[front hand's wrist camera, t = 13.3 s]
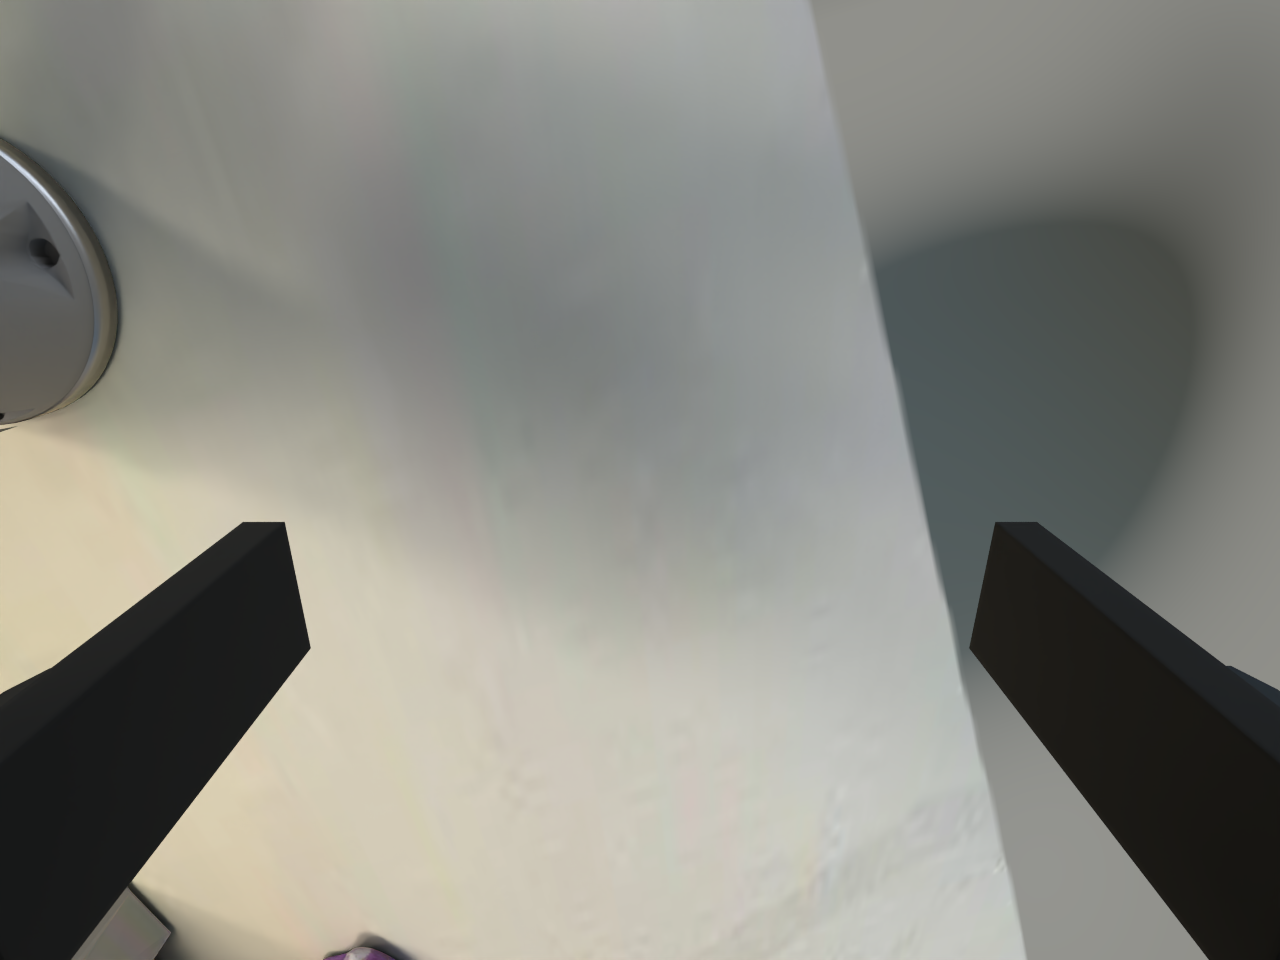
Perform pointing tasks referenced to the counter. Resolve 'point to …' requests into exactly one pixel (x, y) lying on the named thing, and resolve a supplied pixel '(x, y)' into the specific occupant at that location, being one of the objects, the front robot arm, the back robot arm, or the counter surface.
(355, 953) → the figurine
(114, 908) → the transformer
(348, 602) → the counter surface
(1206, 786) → the front robot arm
